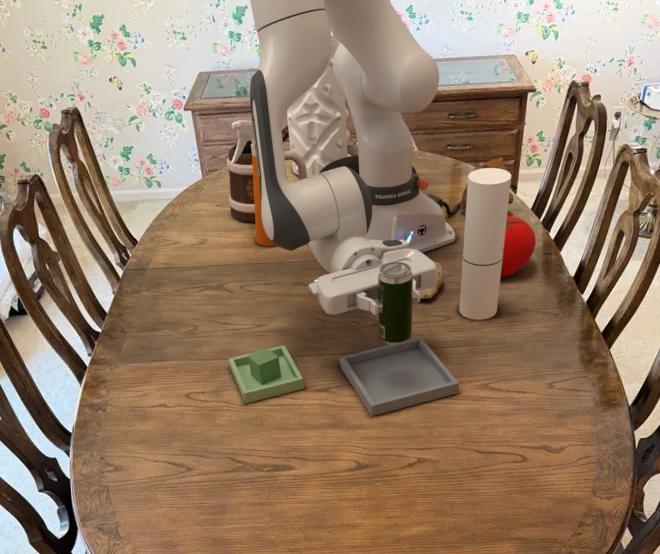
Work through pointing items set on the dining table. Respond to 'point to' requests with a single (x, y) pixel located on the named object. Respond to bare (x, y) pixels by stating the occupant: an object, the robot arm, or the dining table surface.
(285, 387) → the sage tray
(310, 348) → the dining table surface
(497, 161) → the stuffed squirrel
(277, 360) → the green block
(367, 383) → the steel tray
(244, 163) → the mug
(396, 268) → the beer can
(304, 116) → the vase
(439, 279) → the seashell
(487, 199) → the cylindrical container
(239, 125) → the spray bottle
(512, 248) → the tomato
